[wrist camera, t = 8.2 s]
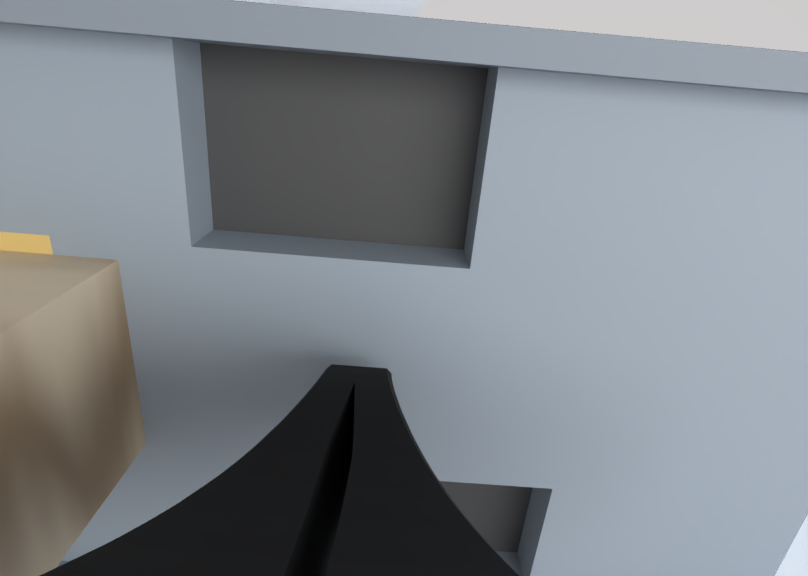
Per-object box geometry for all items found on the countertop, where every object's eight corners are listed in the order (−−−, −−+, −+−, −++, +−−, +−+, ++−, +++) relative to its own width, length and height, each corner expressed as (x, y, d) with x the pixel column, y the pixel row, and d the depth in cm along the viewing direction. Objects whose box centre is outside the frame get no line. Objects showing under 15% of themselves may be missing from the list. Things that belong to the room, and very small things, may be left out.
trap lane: (722, 573, 17) (797, 694, 13) (-12, 524, 16) (-118, 638, 13) (959, 78, 11) (1200, 80, 7) (-198, -25, 10) (-485, -73, 7)
